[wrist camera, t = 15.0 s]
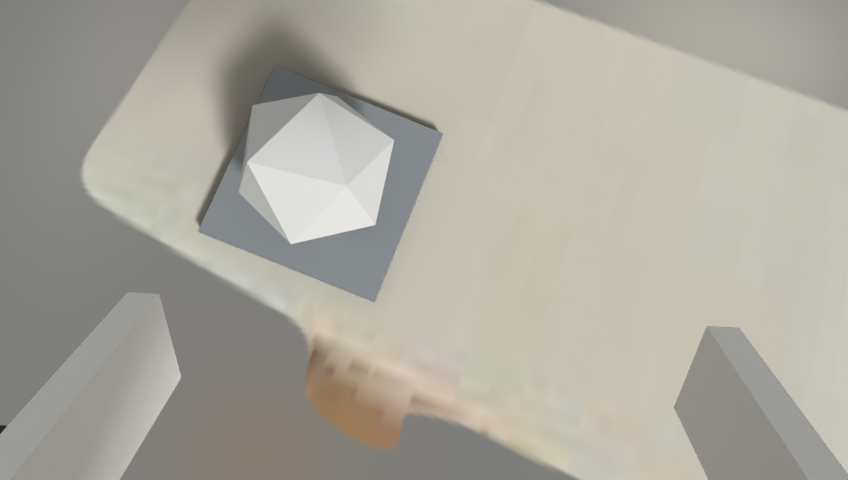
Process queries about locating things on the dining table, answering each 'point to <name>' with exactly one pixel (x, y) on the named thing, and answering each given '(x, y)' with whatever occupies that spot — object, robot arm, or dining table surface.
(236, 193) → the slate board
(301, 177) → the die
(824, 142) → the dining table surface
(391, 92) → the dining table surface
